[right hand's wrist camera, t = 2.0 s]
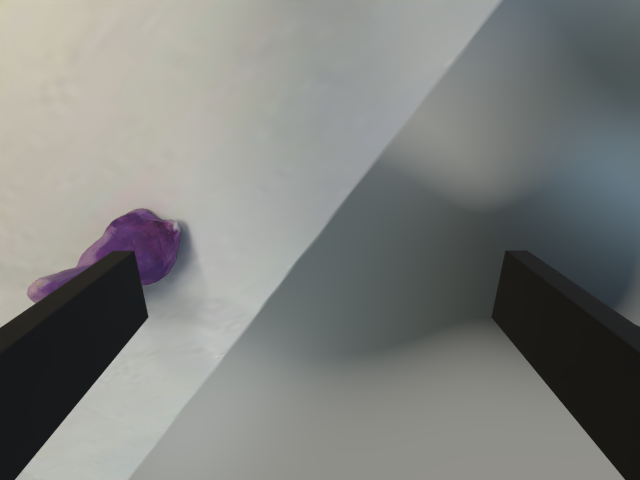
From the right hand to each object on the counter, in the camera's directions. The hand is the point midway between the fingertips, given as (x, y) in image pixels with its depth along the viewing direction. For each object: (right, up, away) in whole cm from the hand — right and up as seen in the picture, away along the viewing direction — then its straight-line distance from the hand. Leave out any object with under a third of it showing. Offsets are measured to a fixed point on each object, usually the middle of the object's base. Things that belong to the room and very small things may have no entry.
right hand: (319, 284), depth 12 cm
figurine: (-21, +1, +30) cm, 37 cm away
